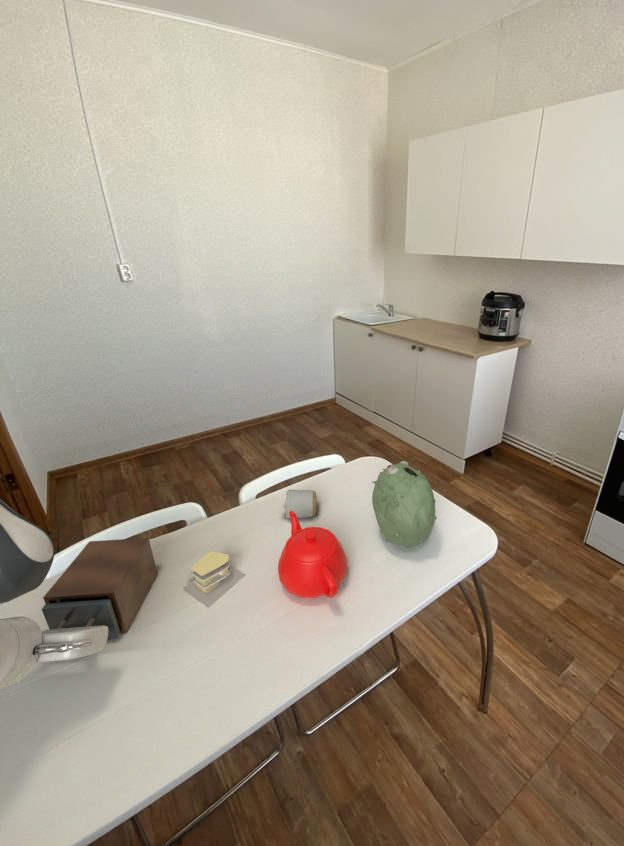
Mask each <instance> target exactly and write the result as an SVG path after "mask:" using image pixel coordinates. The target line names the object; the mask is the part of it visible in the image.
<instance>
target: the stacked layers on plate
mask: <svg viewBox="0 0 624 846" xmlns="http://www.w3.org/2000/svg"><path fill="white" fill-rule="evenodd" d="M190 570H192V572H191V575H192V576H194V578H193V580H191V581H190V582H189V583H187V584H186V585H185V586H183V587H182V589H183V590H184V591H185V592H186V593H188V594H189V595H190V596H192V597H193V598H195V599H196V600H198V601H199V602H201V603H202V604H203V605H205V606H206V607H208V608H209V607H210V606H211V605H213V604H214V603H215V602H216V601H217V600H219V598H221V597H222V596H223V595H224V594H225V593H226V592H227V591H228V590H230V589H231V588H232V587H233V586H234V585H235V584H237V583H238V582H239V581H240V580H241V579H243V577H245V575H246V574H245V573H243V572H242V571H240V570H238V569H237V568H235V567H234V566H232V565H230V558H229V555H228V554H226V553H222V552H218V551H210V552H207V553H206V554H205V555H204V556H202V557H201V558H200V559H199V560H198V561H197V562H196V563H195V564H194V565H193V566H192V567H191V568H190Z"/></svg>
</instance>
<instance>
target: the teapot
mask: <svg viewBox="0 0 624 846" xmlns="http://www.w3.org/2000/svg"><path fill="white" fill-rule="evenodd" d="M289 514H290V518H289V519H290V524H291V526H290V527H291V528H290V530H291V531H290V536H289V538H288V539H287V540H286V543H285V544H284V547H283V548H282V551H281V553H280V557H279V560H278V563H277V572H278V578H279V582H280V583H281V585H282V586H283V588H284V589H285V590H286V592H288V593H290V594H292V595H294V596H295V597H298V598H300V599H301V598H302V599H316V598H320V597H322V596H326V597H327V598H331V599H332V598H334V597H336V596H337V594H338V593H339V586H340V585H341V583H342V582H343V580H344V578H345V577H346V574H347V570H348V569H347V568H348V558H347V555H346V552H345V550H344V548H343V546H342V544H341V542H340V540H339V539H338V538H337V536H336V535H335V534H334V533H333V532H332V531H331V530H330V529H327V528H324V527H321V526H308V527H304V528H302V526H301V523H300V521H299V519H298V518H297V516H296V514H295V513H294V512H293V511H290V512H289Z"/></svg>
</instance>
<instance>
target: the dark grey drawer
mask: <svg viewBox="0 0 624 846" xmlns="http://www.w3.org/2000/svg"><path fill="white" fill-rule="evenodd" d="M56 602H57V603H48V604H45V603H44V605H43V606H42V607H41V612H42V614H43V616H44V619H45V622H46V624H47V626H48V630H50V629H63V628H76V627H88V626H102V625H104V626H107V627H108V637H107V640H115V639H116V640H117V639H119V637H120V635H122V634H121V631H120V628H119V626H120V624H119V621H118V617H117V614H116V611H115V608H114V605H113V602H112V598H111V596H101V597H88V598H74V599H60V600H56Z"/></svg>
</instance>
